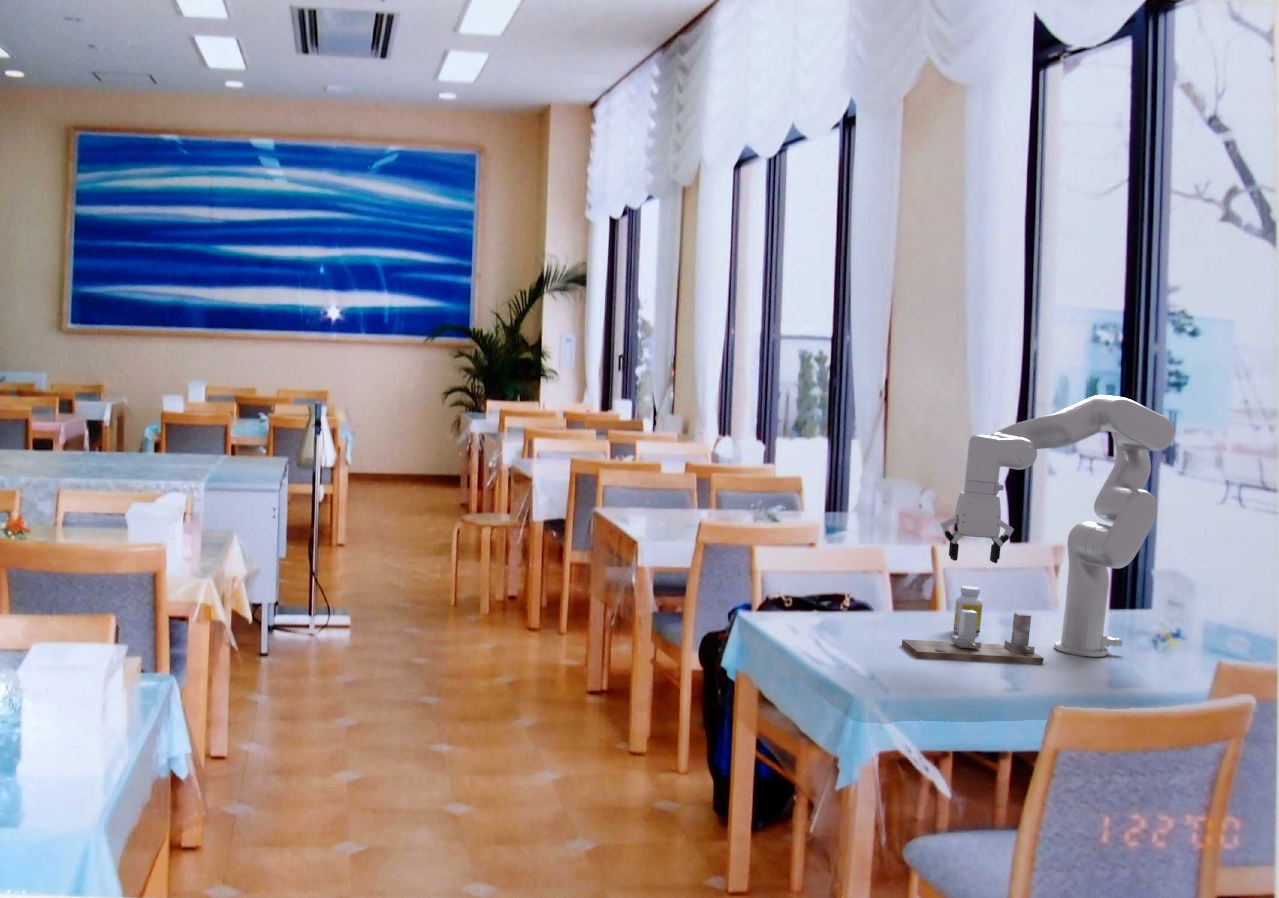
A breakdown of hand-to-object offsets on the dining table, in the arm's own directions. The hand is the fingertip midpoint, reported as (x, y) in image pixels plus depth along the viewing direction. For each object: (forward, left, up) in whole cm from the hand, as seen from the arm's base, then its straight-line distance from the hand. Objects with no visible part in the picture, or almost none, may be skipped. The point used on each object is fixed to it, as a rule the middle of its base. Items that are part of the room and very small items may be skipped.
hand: (973, 560), depth 330 cm
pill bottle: (-8, -23, -22) cm, 33 cm away
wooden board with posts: (-1, +1, -22) cm, 22 cm away
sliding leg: (0, +1, -20) cm, 20 cm away
